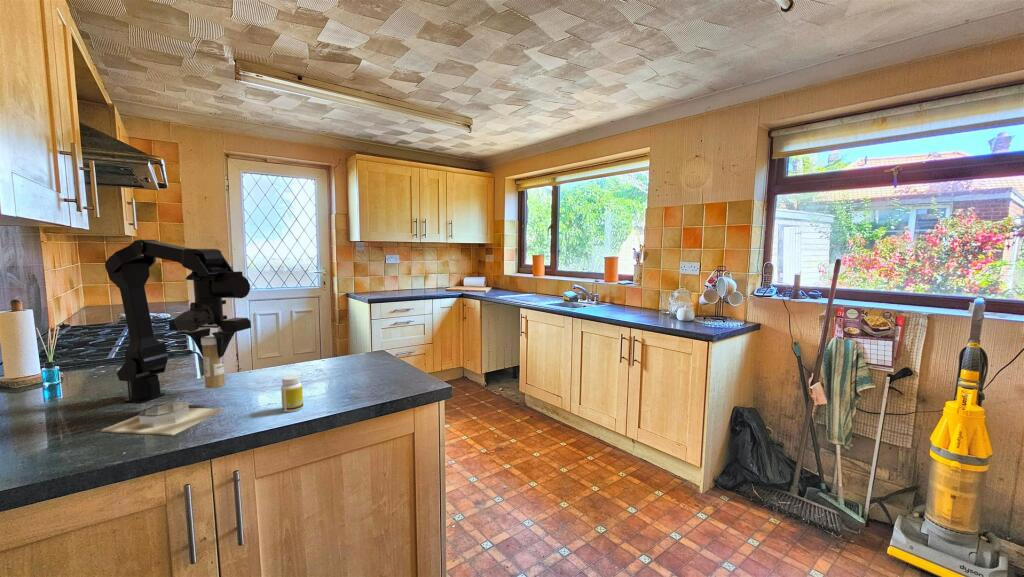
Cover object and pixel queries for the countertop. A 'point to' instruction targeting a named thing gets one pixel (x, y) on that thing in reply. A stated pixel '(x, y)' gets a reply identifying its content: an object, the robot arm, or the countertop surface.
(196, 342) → the robot arm
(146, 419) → the socket collar
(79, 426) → the countertop surface
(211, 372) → the sprinkles bottle
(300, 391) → the supplement bottle
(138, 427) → the dock plate
